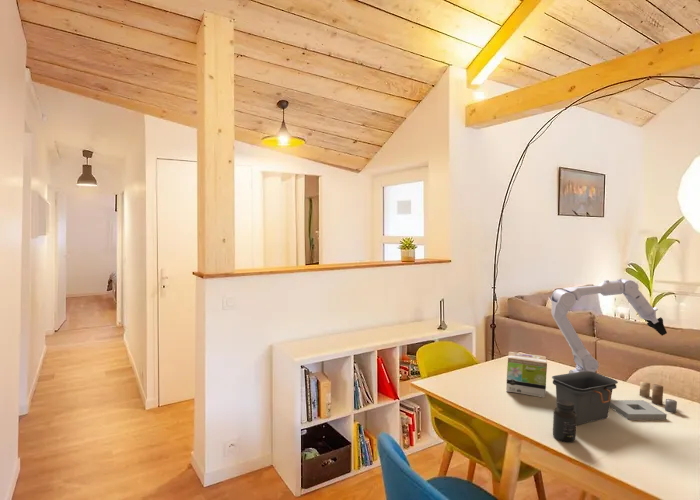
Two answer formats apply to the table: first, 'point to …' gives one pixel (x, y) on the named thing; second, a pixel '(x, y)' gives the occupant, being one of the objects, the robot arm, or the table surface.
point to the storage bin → (586, 394)
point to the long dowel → (657, 394)
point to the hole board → (642, 413)
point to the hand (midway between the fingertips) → (660, 330)
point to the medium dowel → (645, 389)
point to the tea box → (526, 374)
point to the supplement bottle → (564, 421)
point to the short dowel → (670, 405)
